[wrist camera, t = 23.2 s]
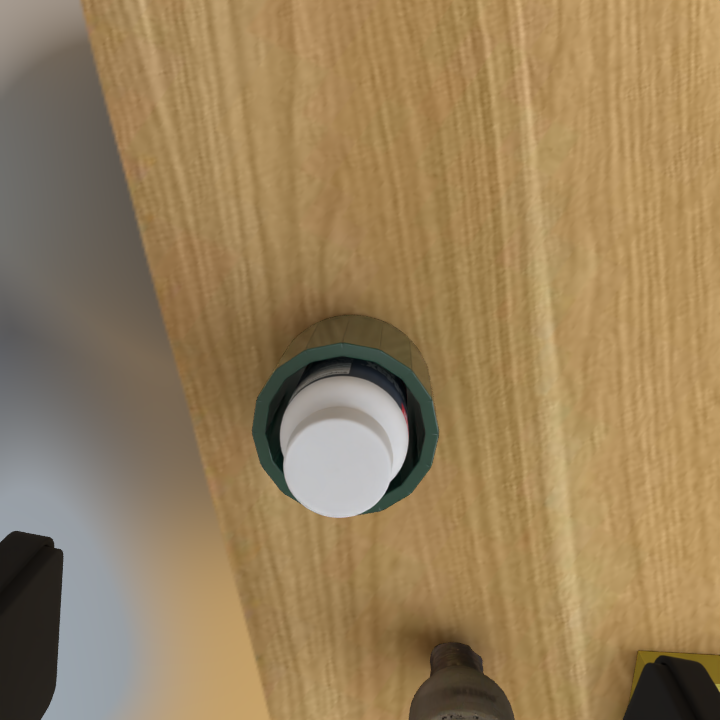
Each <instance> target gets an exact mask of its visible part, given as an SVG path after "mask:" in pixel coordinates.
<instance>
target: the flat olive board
mask: <svg viewBox="0 0 720 720" xmlns="http://www.w3.org/2000/svg"><path fill="white" fill-rule="evenodd" d="M661 655H666V656H671V657H677V658H682V659H687V660H692V661H697V662H699V663H701V664H702V665H703V666H704V667H705V669H706V670H707V672H708V673H709V675H710V677H711V678H712V680H713V682H714V683H715V685H716V687H717V688H718V690H719V692H720V655H704V654H687V653H669V652H651V651H638V655H637V660H636V666H635V672H634V678H633V683H632V689H631V695H630V700H631V698H632V695H633V693H634V690H635V687H636V685H637V682H638V680H639V677H640V675H641V672H642V670H643V668H644V666H645V665H646V664H647V663H650V662H651V663H654V662H655V660H656V658H658V657H659V656H661ZM629 703H630V701H629Z"/></svg>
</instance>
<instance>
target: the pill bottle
mask: <svg viewBox="0 0 720 720" xmlns="http://www.w3.org/2000/svg"><path fill="white" fill-rule="evenodd" d="M408 442H409V431H408V412H407V390H406V385H405V384H404V382H403V381H402V380H401V379H400V378H399V377H397V376H395V375H394V374H392V373H391V372H389V371H387V370H386V369H384V368H383V367H381V366H380V365H378V364H376V363H375V362H370V361H365V360H359V359H354V358H349V357H344V356H342V357H337V358H332V359H326V360H321V361H316V362H311V363H310V364H308V366H307V367H306V369H305V370H304V372H303V374H302V376H301V378H300V380H299V382H298V384H297V386H296V388H295V390H294V392H293V395H292V397H291V399H290V401H289V403H288V406H287V408H286V410H285V411H284V415H283V419H282V423H281V429H280V444H281V450H282V453H283V456H284V463H283V471H284V476H285V480H286V483H287V485H288V488H289V489H290V491H291V493H292V494H293V496H294V497H295V498H296V499H297V500H298V501H299V502H300V503H301V504H302V505H303V506H305V507H306V508H308V509H309V510H311V511H313V512H315V513H317V514H320V515H323V516H328V517H335V518H343V517H351V516H355V515H358V514H361V513H363V512H365V511H366V510H368V509H370V508H372V507H373V506H374V505H375V504H376V503H377V502H378V501H379V500H380V499H381V498H382V497H383V495H384V494H385V492H386V490H387V488H388V486H389V483H390V482H391V481H392V479H393V478H394V477H395V476H396V475H397V473H398V472H399V470H400V469H401V467H402V465H403V463H404V460H405V457H406V454H407V449H408Z"/></svg>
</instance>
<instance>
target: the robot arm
mask: <svg viewBox="0 0 720 720" xmlns="http://www.w3.org/2000/svg"><path fill="white" fill-rule="evenodd" d="M62 573H63V552H62V550H61V549H57V548H54V542H53V539H52V538H50V537H45V536H40V535H36V534H30V533H25V532H20V531H14V532H11V533H10V534H9V535H7V536H6V537H5V538H4V539H3V540H2V541H1V542H0V720H41V718H42V717H43V715H44V713H45V712H46V710H47V708H48V707H49V705H50V702H51V700H52V697H53V694H54V691H55V687H56V677H57V659H58V643H59V624H60V607H61V590H62ZM623 720H720V692H719V690H718V688H717V687H716V685H715V683H714V682H713V680H712V678H711V677H710V675H709V673H708V672H707V670H706V669H705V667H704V666H703V665H702V664H701V663H699V662H697V661H692V660H687V659H682V658H677V657H671V656H666V655H661V656H659V657H658V658H656V660H655V662H654V663H651V662H650V663H647V664H646V665H645V666H644V668H643V670H642V672H641V675H640V677H639V680H638V682H637V685H636V687H635V690H634V693H633V695H632V698H631V700H630V703H629V705H628V708H627V710H626V713H625V715H624V718H623Z"/></svg>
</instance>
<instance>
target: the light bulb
mask: <svg viewBox="0 0 720 720" xmlns="http://www.w3.org/2000/svg"><path fill="white" fill-rule="evenodd" d="M430 664H431V674H430V678H428V679H427V680H426V681H425V682H424V683H423V684H422V685H421V686H420V688H419V689H418V691H417V692H416V694H415V695H414V698H413V700H412V703H411V707H410V713H409V720H515V719H514V715H513V711H512V708H511V705H510V702H509V701H508V699H507V697H506V695H505V694H504V692H503V691H502V689H501V688H500V687H499V686H498V685H497V684H496V683H495V682H494V681H493V680H492V679H490V678H489V677H488V676H486V675H484V674H483V666H482V658H481V657H480V656H479V655H477V654H476V653H475V652H474V651H472V649H471V648H470V647H469V646H468V645H465V644H461V643H452V642H450V643H443V644H440V645H438V646H436V647H435V648H434V649H433V650H432V653H431V657H430Z"/></svg>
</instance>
